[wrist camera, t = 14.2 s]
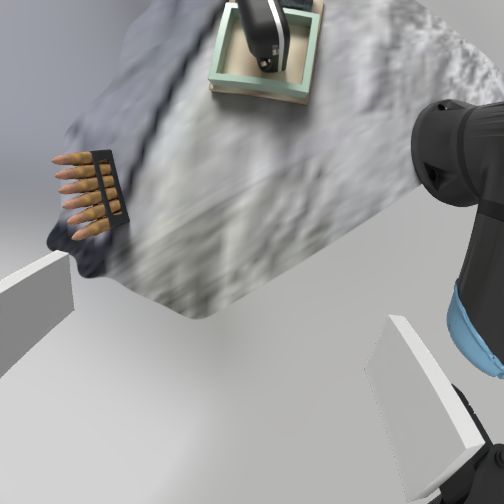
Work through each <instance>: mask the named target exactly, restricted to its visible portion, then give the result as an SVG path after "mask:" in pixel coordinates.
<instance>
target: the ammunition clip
mask: <svg viewBox="0 0 504 504" xmlns="http://www.w3.org/2000/svg"><path fill="white" fill-rule="evenodd" d="M52 162H53V163H55V164H58V165H73V166H77V167H75V168H70V169H66V170H62V171H60V172H58V173H57V174H56V175H55V177H56V178H58V179H83V180H79V181H78V182H74V183H71V184H68V185H65V186H63V187H62V188H60V189H59V193H61V194H73V193H85V192H89V193H85V194H83V195H81V196H79V197H76V198H73V199H71V200H69V201H67V202H66V203H65V204H64V205H63V206H62V207H63V208H65V209H75V208H80V207H88V206H92V205H93V207H90V208H87V209H86V210H84V211H82V212H80V213H77V214H75V215H74V216H72V217H71V218H70V219H69V220H68V221H67V224H70V225H75V224H80V223H83V222H87V221H93V220H96V219H97V220H96V221H94V222H92V223H90V224H89V225H88V226H86V227H84V228H82V229H80V230H79V231H77V232H76V233H75V234H74V235H73V236H72V240H81V239H85V238H87V237H90V236H94V235H97V234H100V233H102V232H104V231H106V230H108V229H110V228H113V227H115V226H118V225H120V224H123V223H126V222H129V221H130V219H129V216H128V213H127V209H126V206H125V202H124V199H123V195H122V191H121V187H120V184H119V180H118V176H117V172H116V168H115V164H114V159H113V155H112V151H111V150H97V151H90V152H77V153H73V154H68V155H61V156H58V157H56V158H54V159H53V160H52ZM81 165H83V166H81ZM92 177H95V178H92ZM85 178H86V179H85ZM95 190H98V191H95ZM102 202H103V203H102ZM99 203H102V204H99ZM98 204H99V205H98ZM106 215H107V216H106ZM104 216H106V217H104ZM103 217H104V218H103Z"/></svg>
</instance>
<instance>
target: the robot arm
mask: <svg viewBox="0 0 504 504" xmlns="http://www.w3.org/2000/svg"><path fill="white" fill-rule="evenodd" d="M411 150H412V158H413V162H414V166H415V169H416V172H417V174H418V177H419V179H420V180H421V182H422V184H423V185H424V187H425V188H426V189H427V191H428V192H429V193H430V194H431V195H432V196H433V197H435V198H436V199H438V200H439V201H441V202H443V203H446V204H449V205H453V206H457V207H468V206H472V205H476V204H478V209H477V213H476V217H475V222H474V226H473V230H472V234H471V238H470V242H469V246H468V249H467V253H466V257H465V260H464V263H463V266H462V269H461V272H460V275H459V278H458V279H457V280H456V282H455V286H454V293H453V297H452V300H451V303H450V306H449V309H448V312H447V326H448V330H449V332H450V335H451V338H452V340H453V341H454V343H455V345H456V346H457V348H458V349H459V351H460V352H461V353H462V354H463V355H464V356H465V357H466V358H467V359H468V360H469V361H470V362H471V363H472V364H473V365H474V366H475V367H477V368H478V369H479V370H481V371H482V372H484V373H486V374H488V375H490V376H492V377H496V376H498V378H499V379H504V101H503V102H497V103H492V104H486V105H482V106H475V105H472V104H469V103H466V102H462V101H459V100H453V99H447V100H441V101H438V102H435V103H432V104H430V105H428V106H427V107H426V108H425V109H424V110H423V111H422V112H421V113H420V114H419V116H418V118H417V120H416V122H415V124H414V127H413V132H412V139H411ZM483 214H484V215H483ZM69 263H70V262H69V253H65V252H61V251H58V250H56V251H54V252H52V253H50V254H48V255H47V256H44V257H43V258H41V259H39V260H37V261H35V262H33V263H31V264H29V265H28V266H26V267H24V268H22V269H20V270H18V271H16V272H15V273H13V274H11V275H9V276H8V277H6V278H4V279H2V280H1V281H0V378H1V377H2V376H3V375H4V374H5V373H6V372H7V371H8V370H9V369H10V368H11V367H12V366H13V365H14V364H15V363H16V362H17V361H18V360H19V359H20V358H21V357H22V356H24V355H25V354H26V353H27V352H28V351H29V350H30V349H31V348H32V347H33V346H34V345H35V344H36V343H37V342H39V341H40V340H41V339H42V338H43V337H44V336H45V335H46V334H47V333H48V332H49V331H51V330H52V329H53V328H54V327H55V326H56V325H57V324H59V323H60V322H61V321H62V320H63V319H64V318H65V317H67V316H68V315H69V314H70V313H71V312H72V311H74V303H73V295H72V287H71V275H70V264H69ZM365 372H366V375H367V378H368V380H369V383H370V386H371V389H372V391H373V394H374V397H375V400H376V403H377V405H378V408H379V411H380V414H381V417H382V420H383V423H384V426H385V429H386V432H387V435H388V438H389V442H390V445H391V448H392V451H393V455H394V458H395V461H396V464H397V468H398V471H399V475H400V478H401V482H402V485H403V489H404V493H405V497H406V500H407V502H409V501H413V500H417V499H421V498H425V497H427V496H429V495H430V494H431V493H433V492H434V491H435V490H436V489H437V488H440V491H441V494H440V495H439V496H437V497H436V498H435V499H433V500H432V501H431V502H429V503H428V504H504V444H495V445H493V444H492V442H491V440H490V438H489V436H488V435H487V433H486V431H485V430H484V428H483V426H482V424H481V422H480V421H479V419H478V417H477V416H476V414H474V411H473V409H472V408H471V406H470V405H468V404H469V403H468V401H467V399H466V398H465V396H464V395H463V393H462V392H461V391H460V390H459V389H457V388H456V387H455V386H454V385H453V384H450V382H449V381H448V379H447V378H446V376H445V374H444V373H443V372H442V370H441V368H440V367H439V365H438V364H437V362H436V361H435V359H434V358H433V357H432V355H431V354H430V352H429V351H428V349H427V348H426V346H425V345H424V343H423V342H422V341H421V339H420V338H419V336H418V335H417V334H416V332H415V331H414V329H413V328H412V327H411V325H410V324H409V323H408V321H407V320H406V319H405V317H404V316H397V315H388V316H387V318H386V321H385V323H384V326H383V328H382V331H381V333H380V336H379V338H378V340H377V342H376V345H375V347H374V349H373V351H372V354H371V356H370V358H369V360H368V362H367V364H366V367H365Z"/></svg>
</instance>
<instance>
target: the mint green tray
mask: <svg viewBox="0 0 504 504" xmlns="http://www.w3.org/2000/svg"><path fill="white" fill-rule="evenodd" d="M323 1H324V0H280V2H281V4H282V7H283V10H284V13H285V15H286V18H287V21H288V25H289V29H290V47H289V54H288V59H287V66H286V70H284V71H281V72H274V73H266V72H263V71H261V70H260V68H259V66H258V62H257V59H256V57H254V56H253V55H252V54H251V53H250V51H249V48H248V45H247V41H246V37H245V34H244V30H243V27H242V24H241V20H240V16H239V11H238V5H237V0H230V1H229V3H226V5H225V9H224V13H223V16H222V20H221V24H220V28H219V32H218V36H217V40H216V44H215V48H214V53H213V57H212V62H211V66H210V71H209V75H208V80H209V81H210V85H209V89H210V90H211V91H212V92H223V93H233V94H242V95H250V96H257V97H264V98H270V99H276V100H282V101H288V102H293V103H298V104H303V105H308V103H309V97H310V91H311V84H312V78H313V72H314V65H315V58H316V52H317V45H318V38H319V31H320V24H321V16H322V8H323Z"/></svg>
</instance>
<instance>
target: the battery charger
mask: <svg viewBox="0 0 504 504" xmlns="http://www.w3.org/2000/svg"><path fill="white" fill-rule="evenodd" d="M237 5H238V11H239V16H240V20H241V24H242V27H243V30H244V34H245V37H246V41H247V45H248V48H249V51H250V53H251V54H252V55H253V56H254V57H256V59H257V62H258V66H259V68H260V70H261V71H263V72H266V73H274V72H281V71H284V70H286V66H287V59H288V54H289V47H290V29H289V25H288V21H287V18H286V15H285V13H284V10H283V7H282V4H281V2H280V0H237Z"/></svg>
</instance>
